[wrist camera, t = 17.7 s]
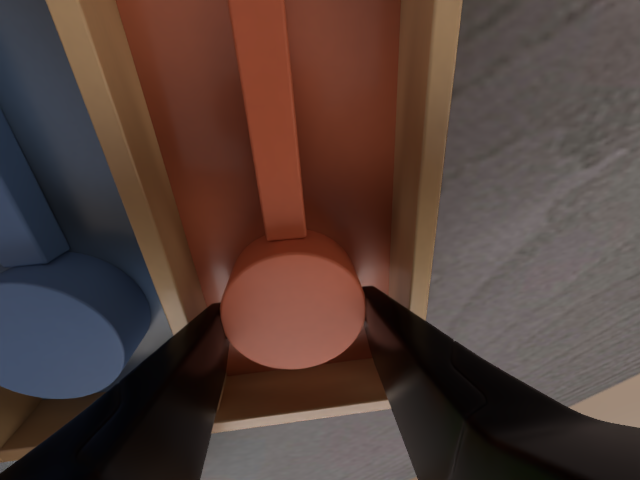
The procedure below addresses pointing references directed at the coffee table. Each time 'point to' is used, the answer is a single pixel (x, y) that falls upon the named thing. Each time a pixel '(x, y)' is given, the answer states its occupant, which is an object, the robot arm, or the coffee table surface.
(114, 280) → the blue spoon
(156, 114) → the tray
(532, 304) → the coffee table surface
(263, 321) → the terracotta spoon
